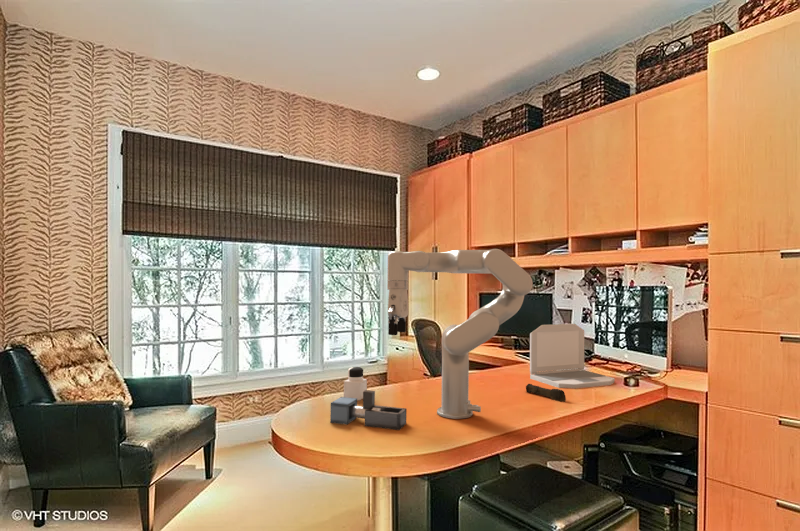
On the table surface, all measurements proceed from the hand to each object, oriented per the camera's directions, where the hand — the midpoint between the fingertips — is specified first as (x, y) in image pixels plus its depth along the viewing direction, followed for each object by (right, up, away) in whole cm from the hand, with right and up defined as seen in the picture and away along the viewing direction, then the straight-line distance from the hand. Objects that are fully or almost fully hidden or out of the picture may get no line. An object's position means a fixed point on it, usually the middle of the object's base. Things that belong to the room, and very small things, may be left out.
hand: (397, 333), depth 165 cm
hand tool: (+62, -30, +25) cm, 73 cm away
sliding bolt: (-12, -26, -12) cm, 31 cm away
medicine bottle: (-17, -29, +19) cm, 39 cm away
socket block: (-18, -28, -10) cm, 35 cm away
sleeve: (-4, -28, -14) cm, 32 cm away
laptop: (+84, -32, +55) cm, 105 cm away
